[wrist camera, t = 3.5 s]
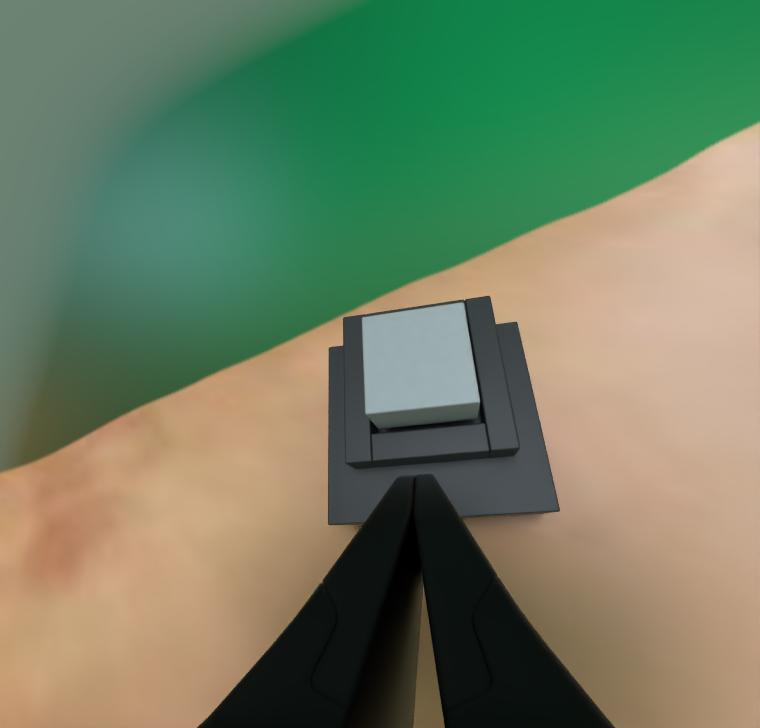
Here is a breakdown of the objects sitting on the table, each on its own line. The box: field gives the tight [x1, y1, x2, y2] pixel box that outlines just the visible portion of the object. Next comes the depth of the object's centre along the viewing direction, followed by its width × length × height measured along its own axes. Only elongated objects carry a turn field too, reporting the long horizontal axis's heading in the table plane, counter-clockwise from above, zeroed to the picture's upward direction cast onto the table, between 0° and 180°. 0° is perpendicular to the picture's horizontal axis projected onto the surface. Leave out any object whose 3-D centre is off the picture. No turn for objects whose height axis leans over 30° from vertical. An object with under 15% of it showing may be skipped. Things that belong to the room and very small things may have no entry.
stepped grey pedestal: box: [328, 296, 560, 525], centre depth 19 cm, size 10×10×6 cm
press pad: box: [362, 303, 480, 429], centre depth 16 cm, size 4×4×2 cm
